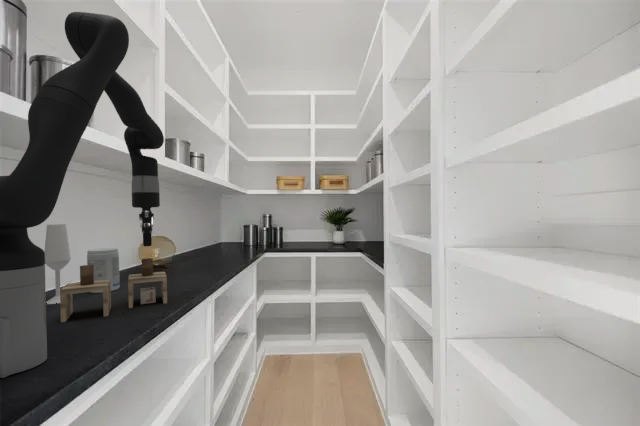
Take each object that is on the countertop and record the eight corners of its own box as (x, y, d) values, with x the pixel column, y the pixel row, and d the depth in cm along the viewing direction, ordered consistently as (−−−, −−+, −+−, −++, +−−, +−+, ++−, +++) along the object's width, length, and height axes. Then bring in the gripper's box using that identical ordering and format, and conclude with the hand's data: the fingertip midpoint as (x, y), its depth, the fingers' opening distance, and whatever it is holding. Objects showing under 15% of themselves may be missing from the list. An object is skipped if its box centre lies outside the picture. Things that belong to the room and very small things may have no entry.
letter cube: (155, 302, 103) (155, 289, 103) (140, 304, 101) (140, 290, 101) (155, 299, 107) (154, 286, 107) (140, 301, 105) (140, 288, 105)
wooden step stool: (108, 316, 90) (107, 266, 90) (60, 322, 85) (59, 269, 85) (111, 307, 98) (110, 261, 98) (68, 312, 94) (67, 265, 94)
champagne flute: (51, 299, 110) (49, 224, 110) (75, 297, 111) (73, 224, 112) (39, 304, 103) (38, 225, 103) (65, 302, 105) (63, 224, 105)
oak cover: (167, 303, 102) (166, 259, 102) (128, 308, 97) (127, 262, 97) (165, 296, 111) (164, 256, 111) (129, 300, 106) (128, 258, 106)
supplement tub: (111, 286, 129) (110, 247, 129) (125, 289, 124) (124, 248, 124) (82, 292, 120) (81, 250, 120) (96, 294, 115) (95, 251, 115)
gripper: (160, 190, 99) (162, 246, 99) (158, 193, 112) (159, 242, 112) (130, 190, 96) (132, 248, 96) (132, 193, 109) (133, 244, 109)
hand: (147, 245), depth 104 cm, fingers open, 8 cm apart
